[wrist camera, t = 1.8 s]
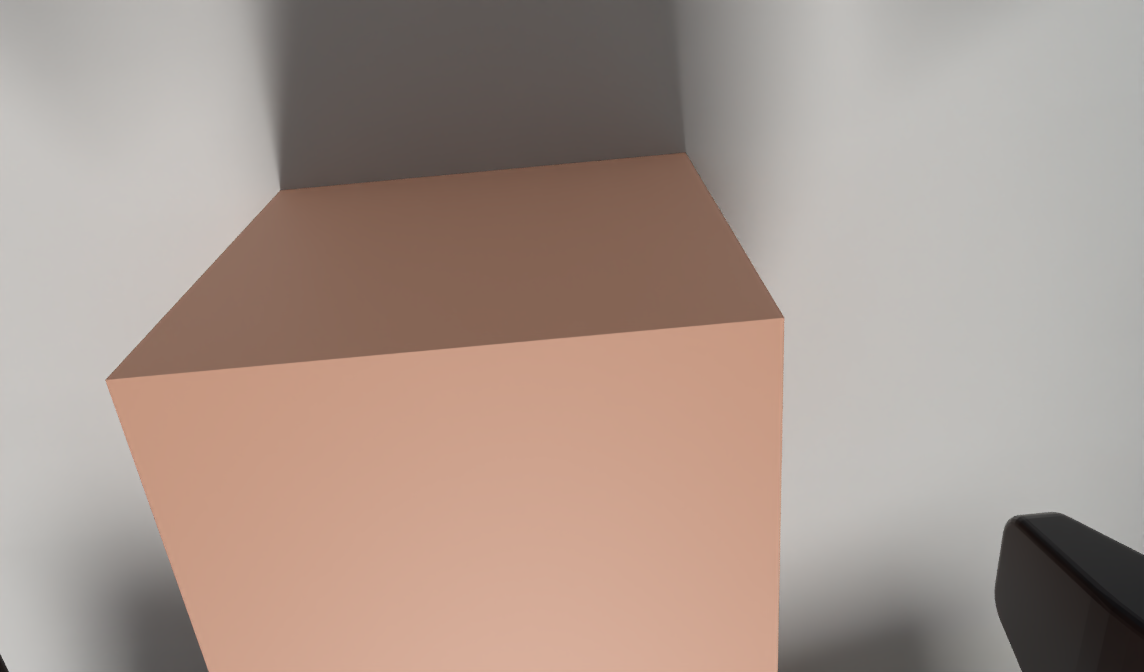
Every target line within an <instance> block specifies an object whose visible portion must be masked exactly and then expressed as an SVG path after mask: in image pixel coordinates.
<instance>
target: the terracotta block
mask: <svg viewBox="0 0 1144 672" xmlns="http://www.w3.org/2000/svg"><path fill="white" fill-rule="evenodd" d="M783 355H784V317H783V315H782V313H781V312H780V310H779V308H778V307H777V305H776V303H775V302H774V300H773V298H772V297H771V295H770V293H769V292H768V290H767V288H766V287H765V285H764V283H763V282H762V280H761V278H760V277H759V275H758V273H757V272H756V270H755V268H754V267H753V265H752V263H751V261H750V260H749V258H748V256H747V255H746V253H745V251H744V250H743V248H742V246H741V245H740V243H739V241H738V240H737V238H736V236H735V235H734V233H733V231H732V230H731V228H730V226H729V225H728V223H727V221H726V220H725V218H724V216H723V215H722V213H721V211H720V210H719V208H718V206H717V205H716V203H715V201H714V200H713V198H712V196H711V195H710V193H709V191H708V190H707V188H706V186H705V185H704V183H703V181H702V180H701V178H700V176H699V175H698V173H697V171H696V169H695V168H694V166H693V164H692V163H691V161H690V159H689V158H688V156H687V154H686V153H675V154H665V155H654V156H643V157H632V158H622V159H611V160H600V161H590V162H579V163H568V164H557V165H547V166H536V167H525V168H515V169H504V170H493V171H482V172H472V173H461V174H450V175H439V176H429V177H418V178H407V179H397V180H386V181H375V182H364V183H354V184H343V185H332V186H322V187H311V188H300V189H289V190H280V191H279V192H278V193H277V195H276V196H275V197H274V198H273V199H272V200H271V201H270V202H269V203H268V204H267V205H266V206H265V208H264V209H263V210H262V211H261V212H260V213H259V214H258V215H257V216H256V217H255V218H254V219H253V221H252V222H251V223H250V224H249V225H248V226H247V227H246V228H245V229H244V230H243V231H242V232H241V234H240V235H239V236H238V237H237V238H236V239H235V240H234V241H233V242H232V243H231V244H230V245H229V247H228V248H227V249H226V250H225V251H224V252H223V253H222V254H221V255H220V256H219V257H218V258H217V260H216V261H215V262H214V263H213V264H212V265H211V266H210V267H209V268H208V269H207V270H206V271H205V273H204V274H203V275H202V276H201V277H200V278H199V279H198V280H197V281H196V282H195V283H194V285H193V286H192V287H191V288H190V289H189V290H188V291H187V292H186V293H185V294H184V295H183V296H182V298H181V299H180V300H179V301H178V302H177V303H176V304H175V305H174V306H173V307H172V308H171V309H170V311H169V312H168V313H167V314H166V315H165V316H164V317H163V318H162V319H161V320H160V321H159V322H158V324H157V325H156V326H155V327H154V328H153V329H152V330H151V331H150V332H149V333H148V334H147V335H146V337H145V338H144V339H143V340H142V341H141V342H140V343H139V344H138V345H137V346H136V347H135V348H134V350H133V351H132V352H131V353H130V354H129V355H128V356H127V357H126V358H125V359H124V360H123V361H122V363H121V364H120V365H119V366H118V367H117V368H116V369H115V370H114V371H113V372H112V373H111V375H110V376H109V377H108V378H107V379H106V383H107V386H108V389H109V392H110V394H111V397H112V400H113V403H114V406H115V409H116V411H117V414H118V417H119V420H120V423H121V425H122V428H123V431H124V434H125V437H126V440H127V442H128V445H129V448H130V451H131V454H132V457H133V459H134V462H135V465H136V468H137V471H138V473H139V476H140V479H141V482H142V485H143V488H144V490H145V493H146V496H147V499H148V502H149V505H150V507H151V510H152V513H153V516H154V519H155V521H156V524H157V527H158V530H159V533H160V536H161V538H162V541H163V544H164V547H165V550H166V553H167V555H168V558H169V561H170V564H171V567H172V569H173V572H174V575H175V578H176V581H177V584H178V586H179V589H180V592H181V595H182V598H183V601H184V603H185V606H186V609H187V612H188V615H189V617H190V620H191V623H192V626H193V629H194V632H195V634H196V637H197V640H198V643H199V646H200V649H201V651H202V654H203V657H204V660H205V663H206V665H207V668H208V671H209V672H778V627H779V573H780V518H781V464H782V410H783Z"/></svg>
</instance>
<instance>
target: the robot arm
mask: <svg viewBox="0 0 1144 672" xmlns="http://www.w3.org/2000/svg"><path fill="white" fill-rule="evenodd" d="M995 603H996V608H997V612H998V615H999V618H1000V621H1001V623H1002V625H1003V628H1004V630H1005V632H1006V635H1007V637H1008V640H1009V642H1010V644H1011V647H1012V649H1013V651H1014V654H1015V656H1016V658H1017V661H1018V663H1019V666H1020V668H1021V670H1022V672H1144V555H1143V554H1141V553H1139V552H1137V551H1135V550H1133V549H1131V548H1129V547H1127V546H1125V545H1123V544H1121V543H1119V542H1117V541H1115V540H1113V539H1111V538H1109V537H1107V536H1105V535H1104V534H1102V533H1100V532H1098V531H1096V530H1094V529H1092V528H1090V527H1088V526H1086V525H1084V524H1082V523H1080V522H1078V521H1076V520H1074V519H1072V518H1070V517H1068V516H1066V515H1063V514H1061V513H1056V512H1048V513H1036V514H1025V515H1017V516H1014V517H1012V518H1010V519H1009V520H1008V522H1007V523H1006V525H1005V528H1004V531H1003V537H1002V544H1001V550H1000V557H999V563H998V570H997V576H996V583H995ZM0 672H9V671H8V669H7V667H6V665H5V663H4V661H3V659H2V657H1V655H0Z"/></svg>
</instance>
